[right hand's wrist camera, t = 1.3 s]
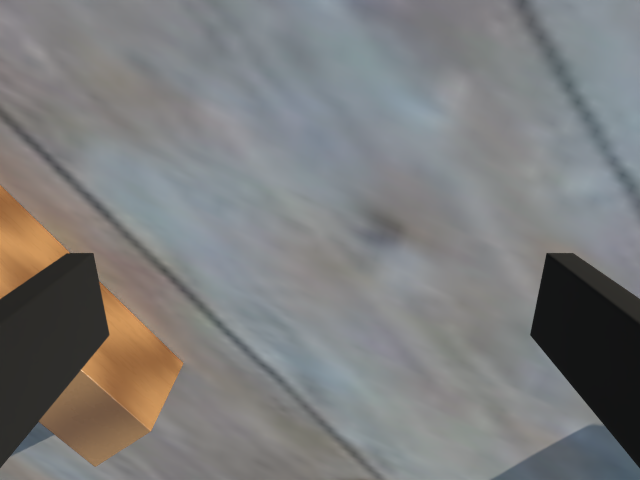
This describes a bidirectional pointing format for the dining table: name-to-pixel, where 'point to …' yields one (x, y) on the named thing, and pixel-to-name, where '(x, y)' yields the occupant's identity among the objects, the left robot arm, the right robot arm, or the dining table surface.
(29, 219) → the post
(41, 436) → the dining table surface
